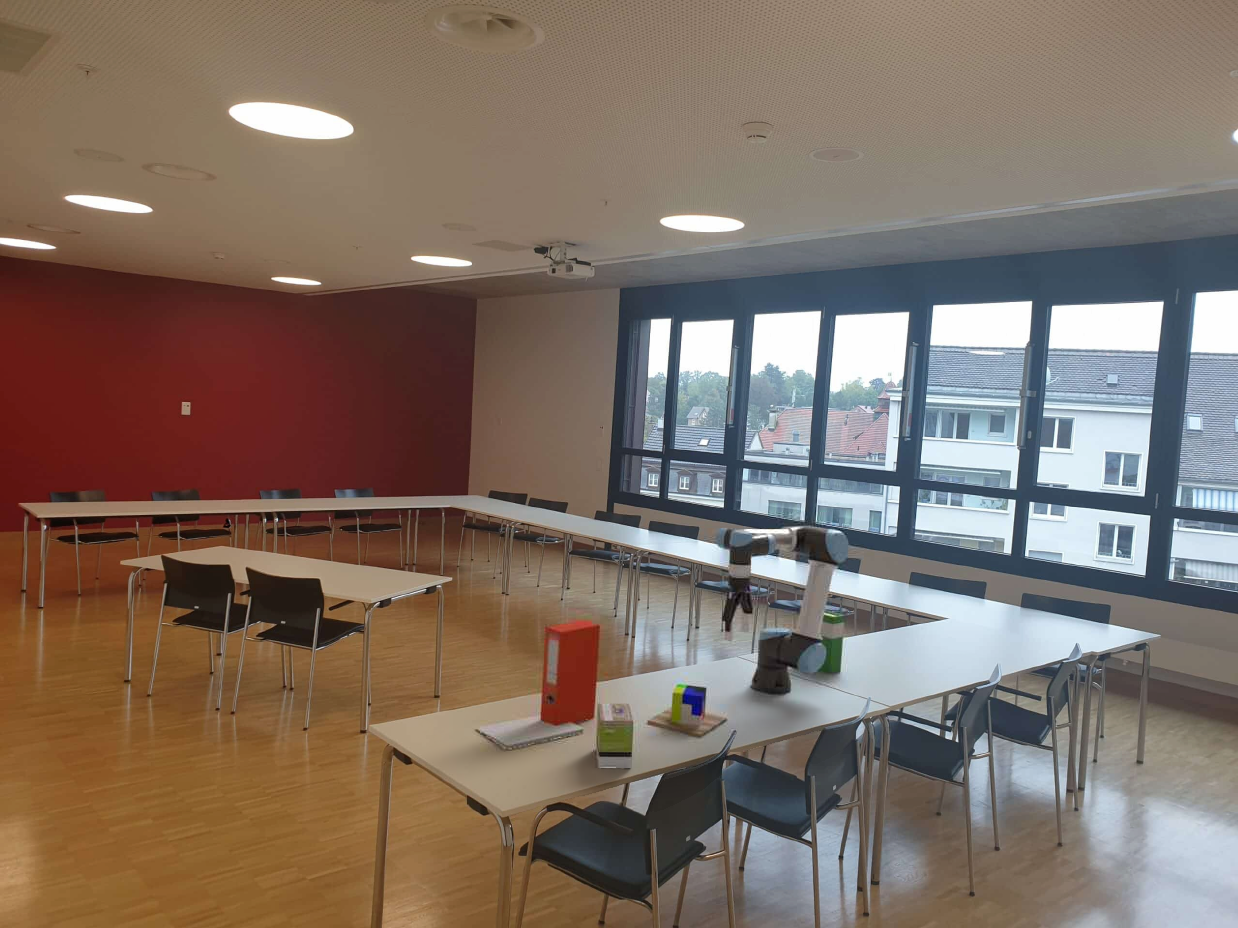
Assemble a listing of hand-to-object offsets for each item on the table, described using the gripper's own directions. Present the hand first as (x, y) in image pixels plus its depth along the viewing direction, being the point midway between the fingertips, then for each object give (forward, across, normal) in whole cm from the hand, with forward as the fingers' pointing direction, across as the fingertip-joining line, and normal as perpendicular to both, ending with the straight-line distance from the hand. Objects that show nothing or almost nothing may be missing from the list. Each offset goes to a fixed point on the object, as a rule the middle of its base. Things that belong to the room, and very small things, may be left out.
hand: (736, 636), depth 304 cm
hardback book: (+31, -79, +2) cm, 85 cm away
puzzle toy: (+27, +16, -10) cm, 33 cm away
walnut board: (+28, +16, -10) cm, 33 cm away
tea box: (+27, +59, -12) cm, 66 cm away
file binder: (+27, +41, -41) cm, 64 cm away
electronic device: (+27, +57, -45) cm, 78 cm away
